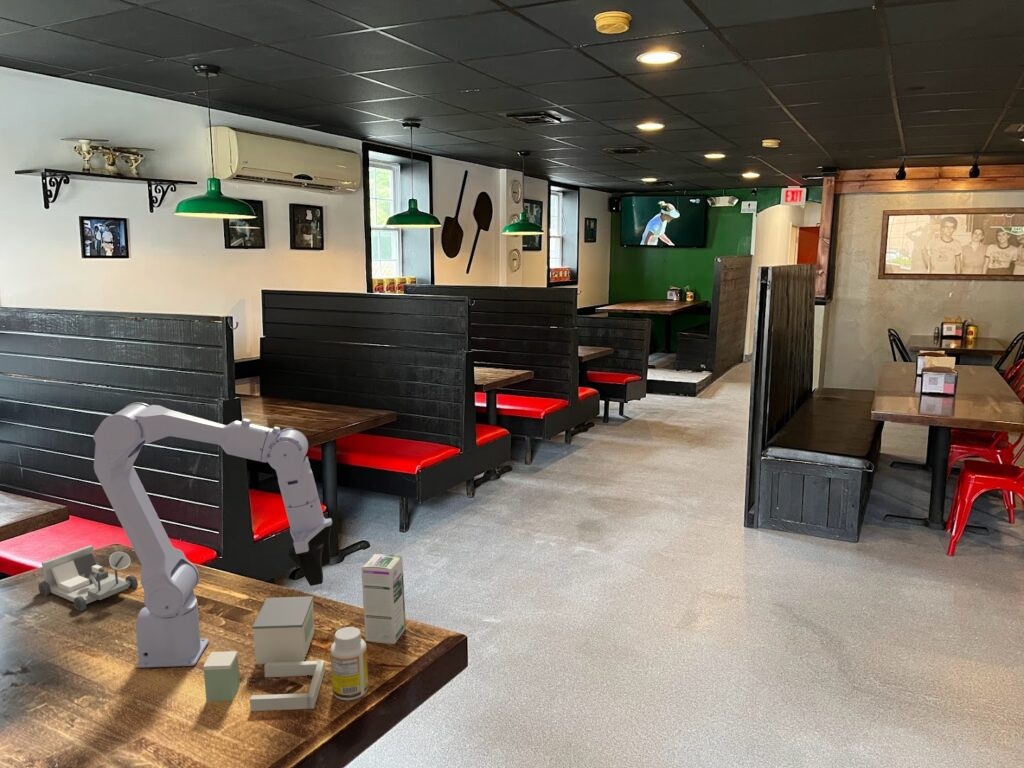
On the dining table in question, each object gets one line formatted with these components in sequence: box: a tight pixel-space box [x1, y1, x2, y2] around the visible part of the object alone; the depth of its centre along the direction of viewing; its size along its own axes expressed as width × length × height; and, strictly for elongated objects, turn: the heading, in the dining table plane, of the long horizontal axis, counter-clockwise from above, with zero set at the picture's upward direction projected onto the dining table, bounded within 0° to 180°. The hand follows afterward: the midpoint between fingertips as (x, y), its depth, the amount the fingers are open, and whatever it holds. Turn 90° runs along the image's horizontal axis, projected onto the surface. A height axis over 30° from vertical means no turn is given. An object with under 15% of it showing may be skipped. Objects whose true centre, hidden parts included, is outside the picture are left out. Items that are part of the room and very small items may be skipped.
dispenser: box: [251, 596, 315, 665], centre depth 133 cm, size 8×10×7 cm
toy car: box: [37, 544, 139, 612], centre depth 153 cm, size 18×10×12 cm
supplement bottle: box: [330, 626, 369, 701], centre depth 120 cm, size 6×6×10 cm
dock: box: [249, 660, 326, 712], centre depth 121 cm, size 10×10×2 cm
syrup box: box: [360, 553, 407, 645], centre depth 136 cm, size 6×6×14 cm
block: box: [202, 650, 241, 703], centre depth 120 cm, size 4×4×6 cm
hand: (320, 573), depth 131 cm, fingers open, 7 cm apart
